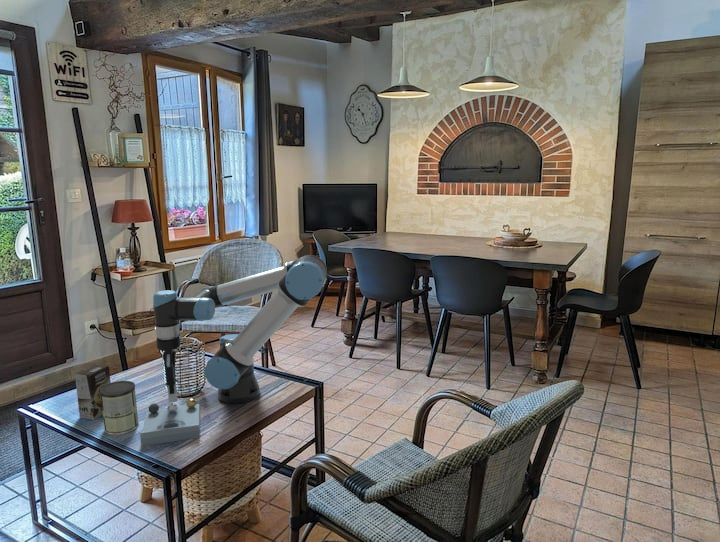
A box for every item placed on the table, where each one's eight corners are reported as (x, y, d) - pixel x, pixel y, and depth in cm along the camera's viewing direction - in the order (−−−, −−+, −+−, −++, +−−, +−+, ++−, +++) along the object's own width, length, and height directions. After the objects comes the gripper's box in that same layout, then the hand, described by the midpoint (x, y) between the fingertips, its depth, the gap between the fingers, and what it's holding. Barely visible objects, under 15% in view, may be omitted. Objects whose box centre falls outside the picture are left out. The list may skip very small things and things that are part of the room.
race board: (199, 410, 178) (198, 398, 177) (199, 437, 160) (198, 424, 159) (147, 417, 173) (146, 405, 172) (141, 446, 155) (140, 433, 154)
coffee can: (98, 428, 165) (93, 388, 163) (129, 416, 173) (125, 377, 170) (113, 439, 159) (108, 397, 156) (144, 426, 167) (141, 386, 164)
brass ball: (196, 405, 176) (195, 396, 175) (196, 409, 173) (195, 400, 172) (186, 406, 175) (186, 397, 174) (186, 410, 172) (185, 401, 171)
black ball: (159, 409, 172) (158, 401, 172) (158, 414, 169) (158, 405, 169) (149, 411, 172) (148, 402, 171) (148, 415, 169) (147, 406, 168)
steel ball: (178, 409, 173) (177, 400, 172) (177, 413, 170) (176, 404, 169) (168, 410, 172) (167, 402, 171) (167, 415, 169) (166, 406, 168)
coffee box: (94, 420, 171) (89, 375, 167) (79, 418, 172) (73, 373, 169) (114, 408, 179) (109, 365, 176) (99, 406, 181) (94, 363, 178)
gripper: (158, 331, 177) (163, 394, 181) (154, 343, 164) (159, 410, 169) (180, 329, 179) (185, 391, 183) (178, 341, 166) (183, 408, 171)
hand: (173, 400), depth 176 cm, fingers closed
